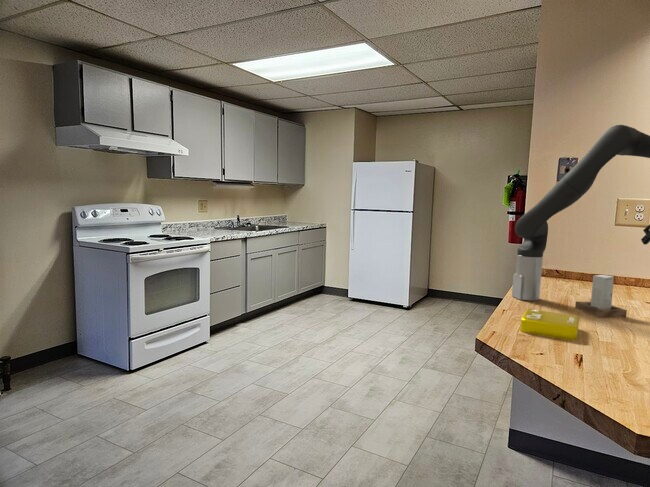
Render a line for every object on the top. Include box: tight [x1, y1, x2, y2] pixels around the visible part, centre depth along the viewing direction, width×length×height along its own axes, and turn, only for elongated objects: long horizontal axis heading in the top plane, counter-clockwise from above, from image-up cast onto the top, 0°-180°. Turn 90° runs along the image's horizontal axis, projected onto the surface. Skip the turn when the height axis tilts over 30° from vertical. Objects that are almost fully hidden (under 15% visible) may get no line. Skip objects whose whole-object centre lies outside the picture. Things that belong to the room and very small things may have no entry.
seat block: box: [574, 301, 628, 319], centre depth 152 cm, size 10×12×2 cm
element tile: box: [519, 308, 580, 341], centre depth 130 cm, size 15×15×5 cm
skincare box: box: [590, 274, 615, 309], centre depth 151 cm, size 6×4×12 cm
